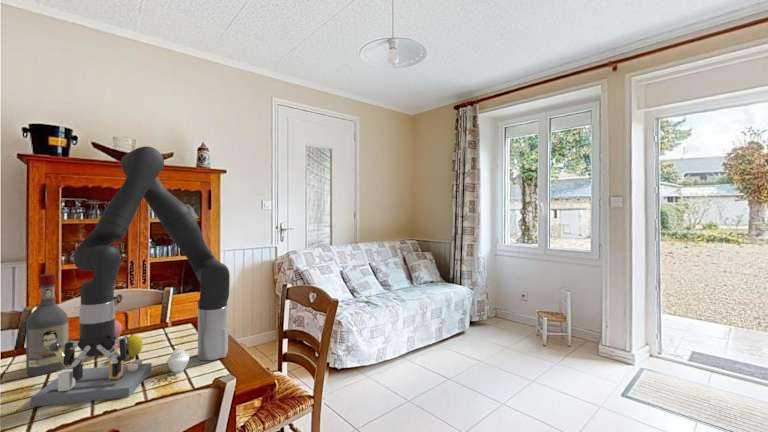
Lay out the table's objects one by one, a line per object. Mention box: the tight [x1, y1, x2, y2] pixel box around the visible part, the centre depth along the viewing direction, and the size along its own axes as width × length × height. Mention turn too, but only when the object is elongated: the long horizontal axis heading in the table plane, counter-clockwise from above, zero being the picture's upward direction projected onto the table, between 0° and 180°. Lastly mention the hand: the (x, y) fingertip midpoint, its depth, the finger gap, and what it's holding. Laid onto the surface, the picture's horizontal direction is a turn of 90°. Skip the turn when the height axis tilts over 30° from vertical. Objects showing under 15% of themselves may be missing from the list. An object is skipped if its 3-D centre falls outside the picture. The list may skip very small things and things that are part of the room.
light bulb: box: [109, 319, 123, 352], centre depth 124 cm, size 7×7×12 cm
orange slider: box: [108, 360, 124, 379], centre depth 101 cm, size 2×3×4 cm
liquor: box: [25, 273, 69, 377], centre depth 112 cm, size 9×9×30 cm
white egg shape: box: [166, 348, 190, 373], centre depth 112 cm, size 6×6×7 cm
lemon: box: [127, 333, 143, 358], centre depth 121 cm, size 6×6×8 cm
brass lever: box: [49, 342, 72, 368], centre depth 104 cm, size 3×3×9 cm
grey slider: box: [57, 369, 75, 391], centre depth 95 cm, size 2×3×4 cm
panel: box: [30, 358, 153, 408], centre depth 101 cm, size 22×16×4 cm
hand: (97, 377), depth 96 cm, fingers open, 8 cm apart
